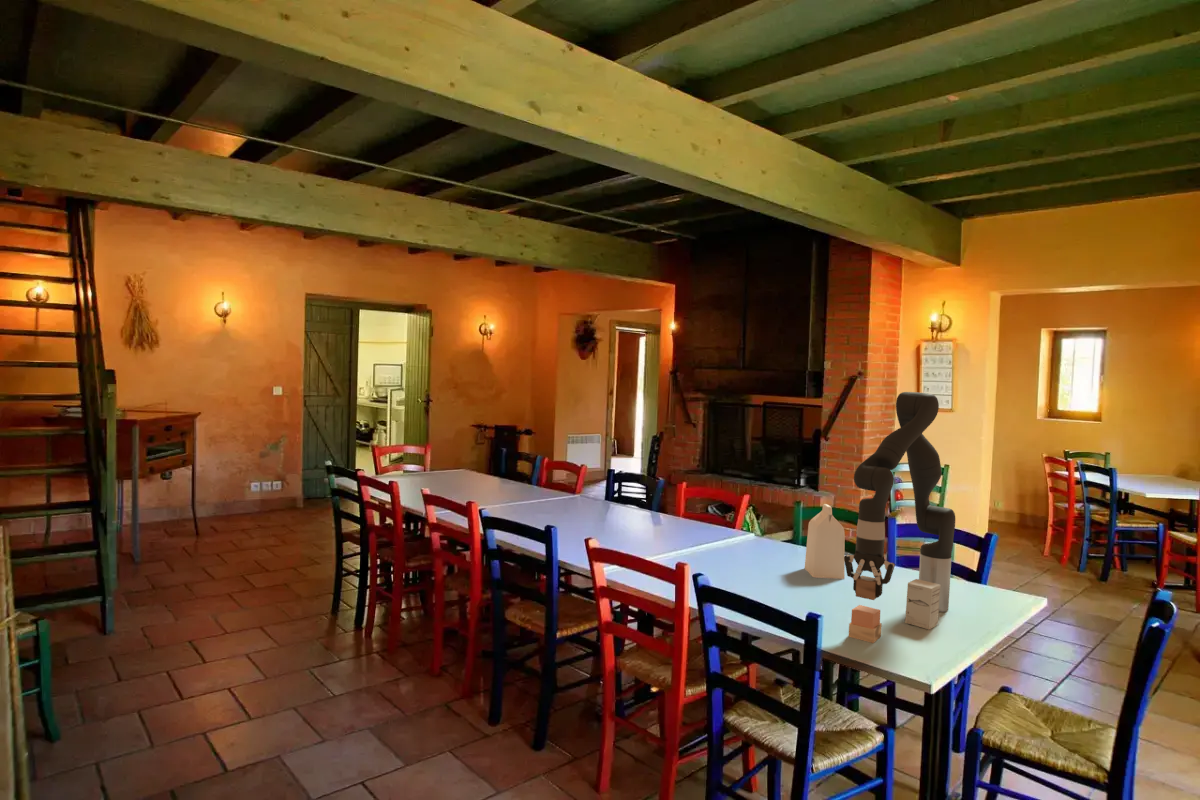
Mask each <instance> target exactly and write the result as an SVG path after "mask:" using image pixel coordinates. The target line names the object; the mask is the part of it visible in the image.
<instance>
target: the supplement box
mask: <svg viewBox="0 0 1200 800" xmlns="http://www.w3.org/2000/svg"><path fill="white" fill-rule="evenodd" d="M940 586H941V585H940V584H935V583H931V582H927V581H923V580H919V578H915V579H913V580H912V581H911V580H910V581H909V582H907V587H906V588H907V591H906V606H905V619H904V623H905V624H908V625H912V626H915V627H918V628H922V629H925V630H931V629H933V628H934V627H936V626H938V622H939V597H940Z"/></svg>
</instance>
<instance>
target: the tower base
mask: <svg viewBox="0 0 1200 800" xmlns="http://www.w3.org/2000/svg"><path fill="white" fill-rule="evenodd" d="M882 624H883V623H881V622H880V624H879V625H877V626H876V627H874V628H873V629H871V628H867V627H863V626H859V625H856V624H852V623H851V622H849V623H848V638H849V637H850V638H852V639H855V640H856V639H857V640H861V641H865V642H868V643H873V644H874V643H876V642H877V641H878V640H879V639H880V638H881V636H882Z"/></svg>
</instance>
